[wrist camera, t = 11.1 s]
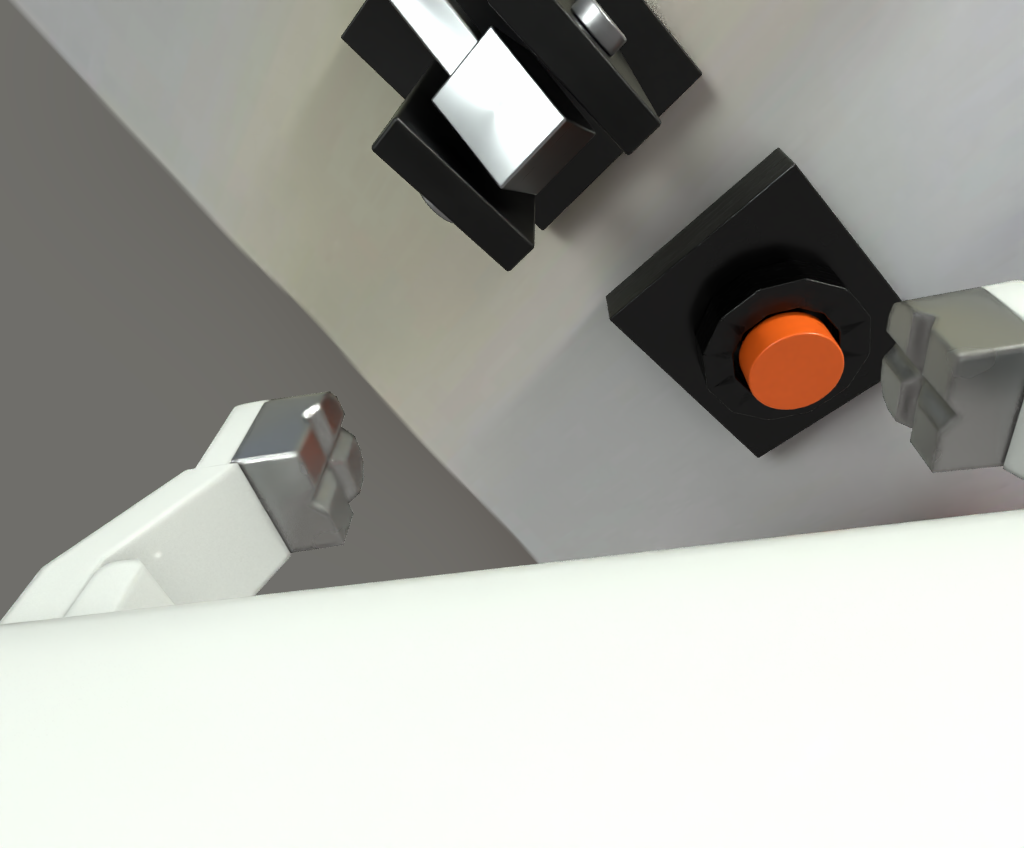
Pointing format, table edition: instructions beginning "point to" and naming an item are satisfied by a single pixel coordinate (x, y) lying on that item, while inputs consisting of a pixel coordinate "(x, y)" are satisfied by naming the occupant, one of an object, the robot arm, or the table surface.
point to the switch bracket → (572, 65)
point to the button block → (757, 299)
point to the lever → (498, 98)
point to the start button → (790, 361)
